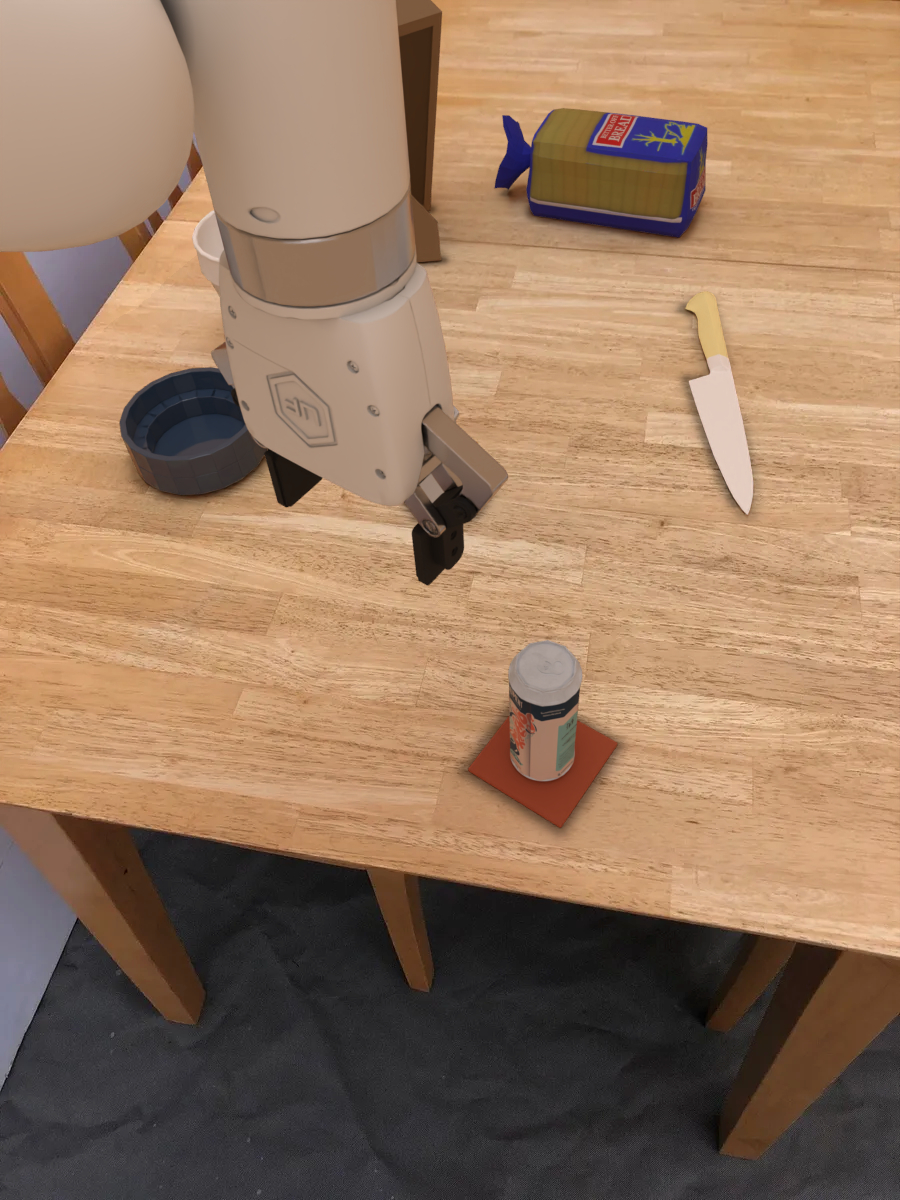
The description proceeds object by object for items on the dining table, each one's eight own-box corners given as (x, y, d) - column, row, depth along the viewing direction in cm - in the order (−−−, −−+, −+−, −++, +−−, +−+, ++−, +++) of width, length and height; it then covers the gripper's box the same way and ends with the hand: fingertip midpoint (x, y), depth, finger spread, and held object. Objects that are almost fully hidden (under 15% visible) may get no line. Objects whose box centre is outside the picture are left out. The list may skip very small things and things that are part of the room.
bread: (687, 246, 108) (700, 159, 100) (488, 215, 115) (486, 131, 107) (706, 202, 114) (720, 116, 106) (516, 175, 121) (515, 92, 112)
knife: (715, 514, 82) (768, 507, 81) (671, 293, 102) (713, 285, 101) (716, 524, 83) (768, 517, 82) (672, 303, 103) (714, 295, 102)
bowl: (203, 518, 86) (188, 480, 82) (109, 464, 91) (90, 426, 87) (297, 436, 92) (287, 396, 88) (204, 390, 97) (191, 351, 93)
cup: (277, 297, 107) (250, 183, 96) (359, 331, 102) (341, 214, 91) (202, 355, 101) (164, 240, 90) (286, 393, 96) (256, 276, 85)
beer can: (513, 724, 70) (511, 631, 61) (576, 729, 69) (585, 637, 60) (506, 781, 67) (504, 694, 58) (572, 787, 67) (581, 700, 57)
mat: (560, 828, 65) (560, 826, 65) (468, 771, 68) (467, 768, 68) (617, 745, 69) (617, 742, 69) (527, 694, 72) (527, 691, 72)
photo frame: (261, 256, 112) (206, 30, 93) (412, 196, 119) (391, -27, 99) (318, 313, 104) (272, 80, 85) (477, 246, 111) (468, 15, 91)
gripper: (101, 213, 38) (206, 504, 51) (437, 357, 31) (456, 649, 45) (230, 138, 42) (297, 428, 55) (556, 252, 35) (541, 552, 48)
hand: (368, 527), depth 50 cm, fingers open, 9 cm apart
